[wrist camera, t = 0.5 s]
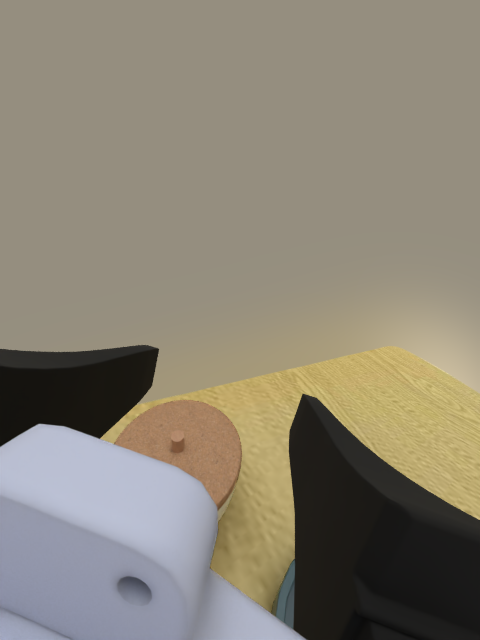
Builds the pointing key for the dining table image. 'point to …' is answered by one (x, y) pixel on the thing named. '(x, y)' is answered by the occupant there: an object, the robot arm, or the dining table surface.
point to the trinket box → (190, 444)
